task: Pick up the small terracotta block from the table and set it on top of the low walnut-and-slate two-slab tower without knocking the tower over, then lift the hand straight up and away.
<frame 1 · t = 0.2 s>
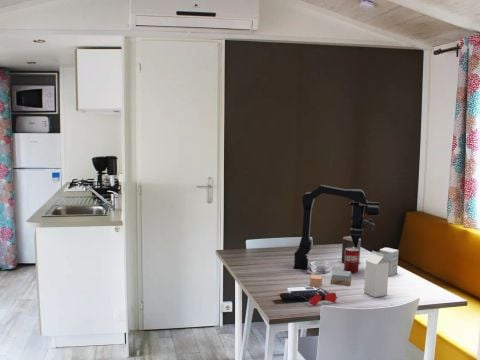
hand: (356, 244, 253), 15 cm above the table, tool pointing down, fingers open, 9 cm apart
pillar candle: (350, 263, 272), on the table
block: (315, 285, 234), on the table
soda can: (351, 272, 256), on the table
supplement box: (387, 274, 254), on the table
tower base: (340, 283, 239), on the table, touching tower top
milk carton: (375, 294, 224), on the table
glasses: (313, 299, 217), on the table
tower top: (341, 278, 239), point 2 cm above the table, touching tower base
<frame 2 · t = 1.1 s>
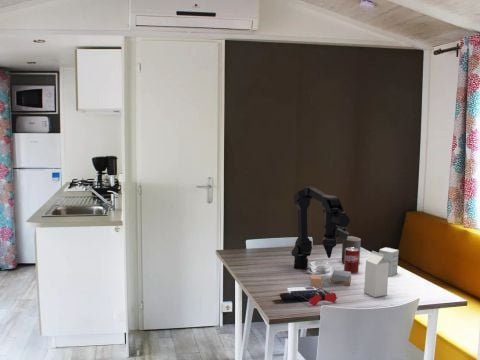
hand: (329, 255, 238), 13 cm above the table, tool pointing down, fingers open, 9 cm apart
nothing on the table moved.
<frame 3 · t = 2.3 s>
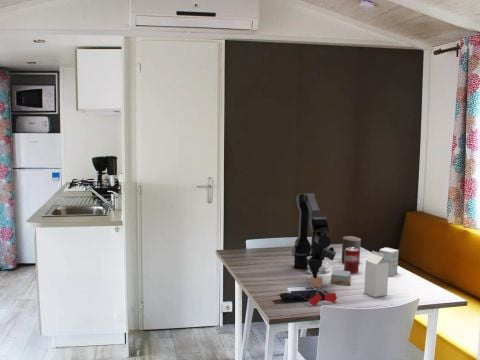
hand: (316, 275, 234), 5 cm above the table, tool pointing down, fingers open, 9 cm apart
tower base: (340, 283, 239), on the table
tower top: (340, 278, 239), point 2 cm above the table
everything else where it was.
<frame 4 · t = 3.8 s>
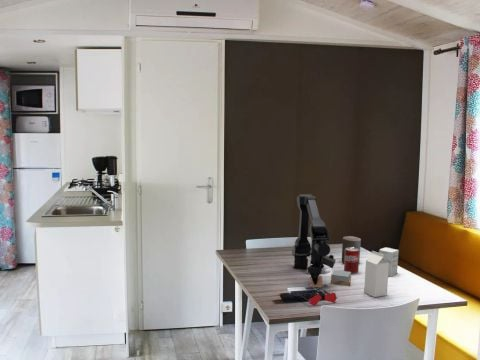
hand: (316, 282, 234), 1 cm above the table, tool pointing down, fingers closed on block, 5 cm apart
block: (316, 284, 234), on the table, touching gripper
tower base: (340, 283, 239), on the table, touching tower top
tower top: (341, 278, 239), point 2 cm above the table, touching tower base
everything else where it was.
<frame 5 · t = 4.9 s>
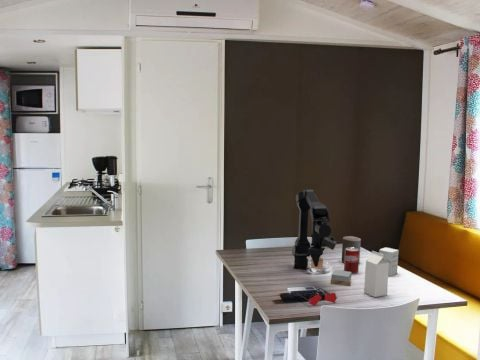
hand: (316, 265, 233), 10 cm above the table, tool pointing down, fingers closed on block, 5 cm apart
block: (316, 267, 233), point 9 cm above the table, touching gripper
everything else where it was.
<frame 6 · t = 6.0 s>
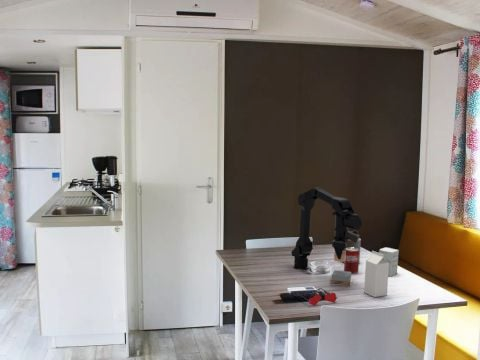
hand: (339, 257, 237), 12 cm above the table, tool pointing down, fingers closed on block, 5 cm apart
block: (339, 260, 237), point 11 cm above the table, touching gripper
tower base: (340, 283, 239), on the table
tower top: (341, 278, 239), point 2 cm above the table
everything else where it was.
when the fingers open (7 cm above the table, at t = 7.8 s): block drops 1 cm, resting on tower top.
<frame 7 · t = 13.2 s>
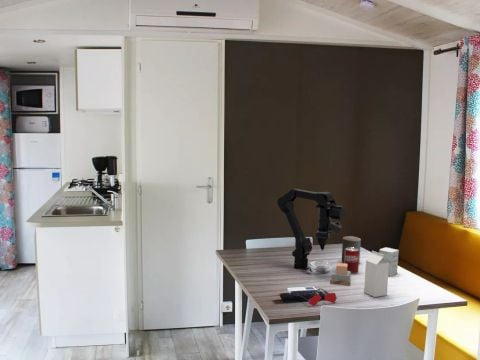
hand: (323, 247, 252), 13 cm above the table, tool pointing down, fingers open, 9 cm apart
block: (341, 272, 239), point 4 cm above the table, touching tower top
tower base: (340, 283, 239), on the table, touching tower top
tower top: (341, 277, 239), point 2 cm above the table, touching block, tower base
everything else where it was.
at the end: block 0.2 cm off-centre on the tower top, point 2.6 cm above the tower top's base; tower top 0.4 cm off-centre on the tower base, point 2.5 cm above the tower base's base; block tilted 1° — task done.
